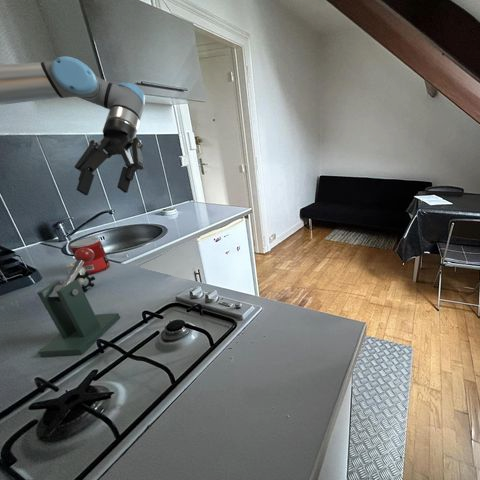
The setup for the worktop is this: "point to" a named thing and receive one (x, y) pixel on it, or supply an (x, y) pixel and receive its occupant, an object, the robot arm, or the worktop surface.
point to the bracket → (73, 320)
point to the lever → (74, 269)
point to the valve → (82, 276)
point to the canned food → (100, 258)
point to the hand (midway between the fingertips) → (102, 191)
